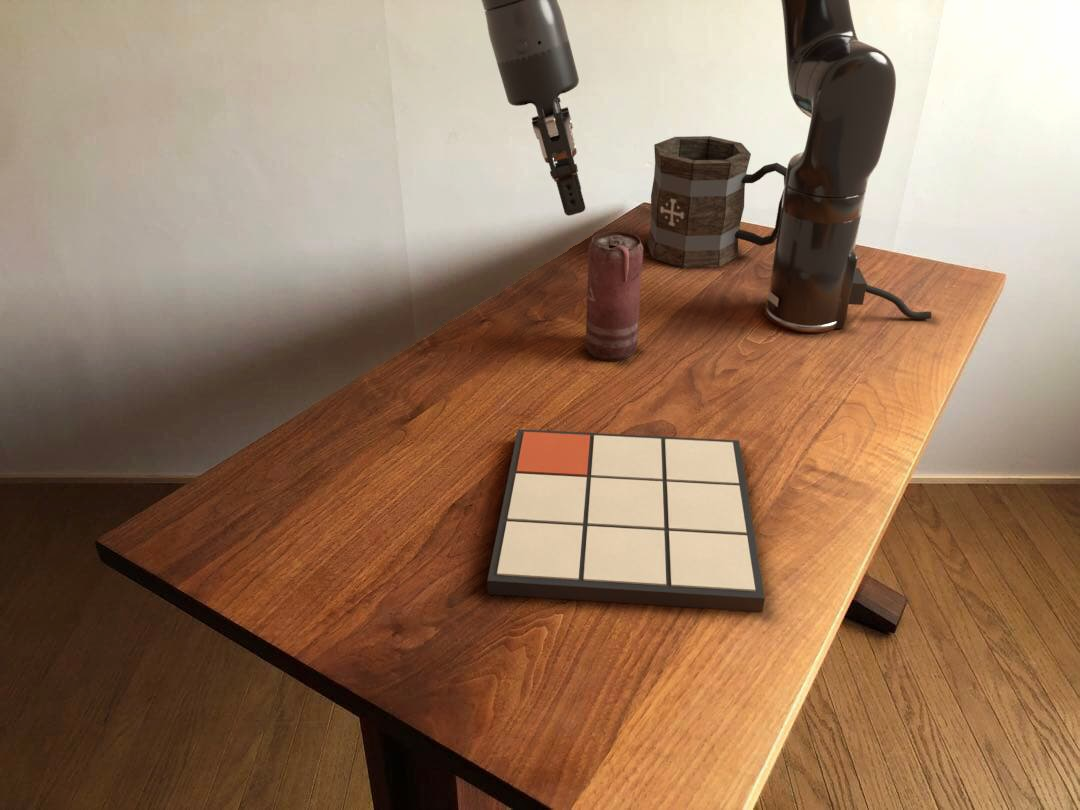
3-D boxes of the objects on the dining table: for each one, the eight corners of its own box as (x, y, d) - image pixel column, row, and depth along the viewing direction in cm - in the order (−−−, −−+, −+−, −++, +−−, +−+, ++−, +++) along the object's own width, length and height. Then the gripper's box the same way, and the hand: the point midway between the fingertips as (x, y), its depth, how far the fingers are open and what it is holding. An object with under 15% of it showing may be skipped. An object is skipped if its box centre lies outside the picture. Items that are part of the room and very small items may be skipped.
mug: (636, 261, 131) (642, 158, 123) (657, 228, 142) (664, 131, 134) (775, 280, 126) (791, 173, 118) (785, 244, 136) (801, 144, 128)
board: (737, 452, 91) (739, 438, 90) (762, 612, 72) (765, 596, 71) (518, 441, 93) (517, 427, 92) (487, 594, 74) (487, 578, 73)
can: (603, 368, 105) (608, 254, 98) (576, 344, 110) (579, 234, 102) (647, 356, 107) (655, 244, 100) (619, 333, 112) (625, 225, 105)
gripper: (571, 43, 84) (613, 210, 91) (565, 31, 97) (603, 178, 104) (493, 66, 85) (541, 230, 92) (498, 52, 98) (539, 197, 105)
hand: (574, 202), depth 98 cm, fingers open, 8 cm apart
